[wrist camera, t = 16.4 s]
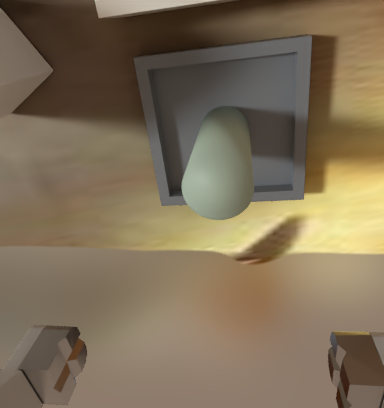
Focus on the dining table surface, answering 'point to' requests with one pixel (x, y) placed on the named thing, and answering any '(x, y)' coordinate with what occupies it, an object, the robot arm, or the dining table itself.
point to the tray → (235, 97)
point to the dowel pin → (220, 166)
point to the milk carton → (18, 66)
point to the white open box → (145, 6)
